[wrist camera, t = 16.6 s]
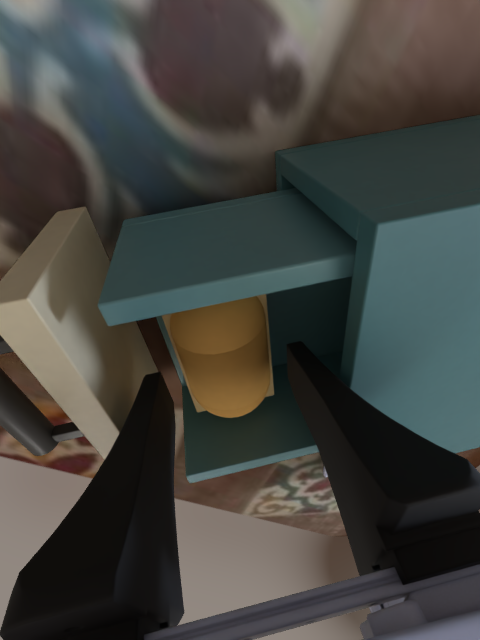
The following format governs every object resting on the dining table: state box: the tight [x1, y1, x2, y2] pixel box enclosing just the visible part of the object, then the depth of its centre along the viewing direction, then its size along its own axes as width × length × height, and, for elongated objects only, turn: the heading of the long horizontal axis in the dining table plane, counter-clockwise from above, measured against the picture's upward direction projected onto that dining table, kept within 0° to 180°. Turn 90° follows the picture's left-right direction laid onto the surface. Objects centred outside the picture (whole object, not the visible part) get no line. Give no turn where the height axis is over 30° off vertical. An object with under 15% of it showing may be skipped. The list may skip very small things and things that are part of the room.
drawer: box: [0, 188, 357, 483], centre depth 14 cm, size 19×12×7 cm, turn 97°
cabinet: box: [275, 115, 480, 453], centre depth 15 cm, size 16×14×9 cm
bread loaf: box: [162, 294, 274, 418], centre depth 14 cm, size 8×4×4 cm, turn 7°
